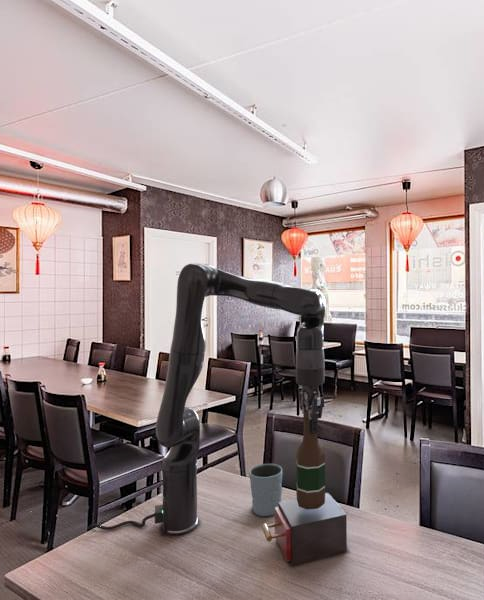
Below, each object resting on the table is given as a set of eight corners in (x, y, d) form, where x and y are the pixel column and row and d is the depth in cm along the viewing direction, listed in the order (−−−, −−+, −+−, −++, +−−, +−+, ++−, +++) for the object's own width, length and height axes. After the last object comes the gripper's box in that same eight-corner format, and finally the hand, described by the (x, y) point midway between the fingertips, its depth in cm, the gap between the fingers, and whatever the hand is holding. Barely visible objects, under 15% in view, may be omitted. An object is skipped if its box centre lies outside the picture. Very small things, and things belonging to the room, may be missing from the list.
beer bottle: (322, 511, 104) (321, 417, 104) (292, 508, 106) (291, 415, 105) (327, 496, 112) (327, 408, 111) (300, 494, 113) (299, 407, 113)
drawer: (269, 565, 99) (269, 533, 99) (259, 539, 110) (259, 510, 109) (337, 548, 105) (337, 518, 105) (321, 525, 116) (321, 498, 116)
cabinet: (292, 565, 100) (291, 526, 100) (278, 537, 112) (278, 502, 112) (346, 551, 105) (346, 514, 105) (328, 525, 117) (328, 492, 117)
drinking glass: (280, 517, 122) (280, 477, 121) (246, 517, 122) (246, 477, 122) (284, 500, 132) (284, 463, 132) (252, 500, 132) (252, 463, 132)
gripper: (288, 362, 113) (289, 424, 113) (305, 371, 100) (305, 441, 100) (314, 360, 116) (314, 421, 116) (333, 369, 103) (334, 437, 103)
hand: (310, 430), depth 108 cm, fingers closed on beer bottle, 3 cm apart
